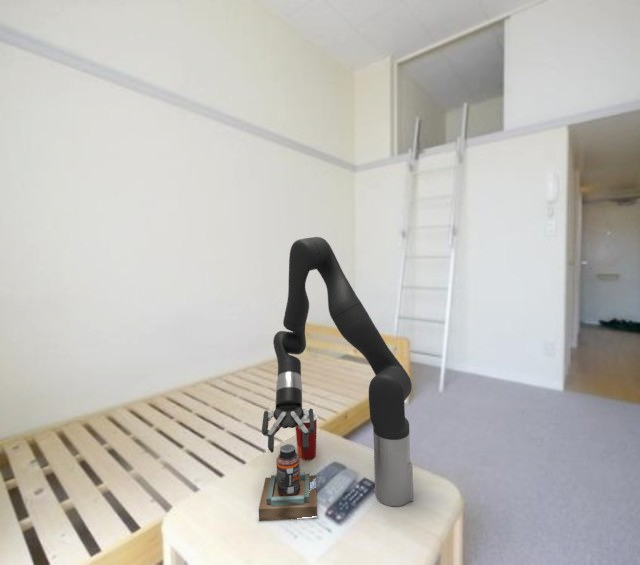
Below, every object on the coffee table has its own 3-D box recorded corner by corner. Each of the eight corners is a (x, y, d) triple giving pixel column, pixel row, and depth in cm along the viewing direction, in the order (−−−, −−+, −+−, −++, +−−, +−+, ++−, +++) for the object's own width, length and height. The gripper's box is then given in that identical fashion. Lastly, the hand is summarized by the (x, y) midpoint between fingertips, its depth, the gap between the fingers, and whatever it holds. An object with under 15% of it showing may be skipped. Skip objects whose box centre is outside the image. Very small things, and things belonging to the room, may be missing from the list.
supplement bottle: (297, 499, 85) (295, 455, 85) (274, 497, 86) (272, 453, 86) (303, 484, 91) (301, 442, 90) (281, 482, 92) (279, 441, 92)
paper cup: (323, 452, 111) (322, 410, 110) (310, 465, 104) (308, 420, 103) (303, 446, 115) (302, 405, 114) (290, 458, 109) (288, 415, 108)
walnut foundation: (316, 485, 95) (316, 470, 95) (317, 518, 83) (316, 500, 83) (266, 488, 95) (265, 472, 94) (259, 521, 83) (258, 503, 82)
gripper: (262, 387, 97) (258, 448, 87) (313, 384, 97) (315, 445, 87) (266, 397, 103) (263, 456, 92) (313, 395, 103) (315, 453, 92)
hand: (288, 450), depth 89 cm, fingers open, 8 cm apart
